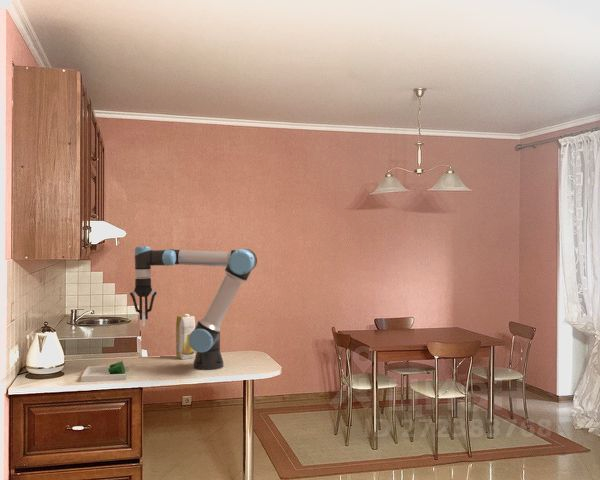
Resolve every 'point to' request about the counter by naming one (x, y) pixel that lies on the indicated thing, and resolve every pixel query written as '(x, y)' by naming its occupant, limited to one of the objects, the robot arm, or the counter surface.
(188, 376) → the counter surface
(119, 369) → the green lumpy piece
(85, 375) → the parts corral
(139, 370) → the counter surface
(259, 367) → the counter surface
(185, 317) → the juice carton
